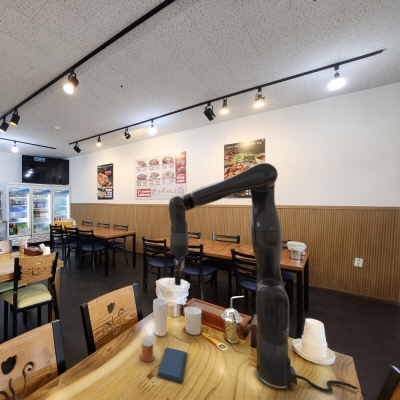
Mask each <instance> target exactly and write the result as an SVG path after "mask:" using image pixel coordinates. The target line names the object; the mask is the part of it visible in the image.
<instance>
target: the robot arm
mask: <svg viewBox="0 0 400 400" xmlns="http://www.w3.org/2000/svg"><path fill="white" fill-rule="evenodd" d="M278 176H279V174H278V170H277V168H276V167H275V165H272V164H271V163H268V162H259V163H256V164H254V165H252V166H251V167H249V168H247V169H245V170H243V171H241V172H239V173H237V174H234V175H233V176H230V177H227V178H225V179H222V180H220V181H217V182H214V183H213V182H212V183H210V184H207V185H203V186H201V187H199V188H195V189H194V190H192V191H191V192H188V193H186V194H183V195H174V196H172V197H171V198H170V199H169V201H168V214H169V219H170V234H169V235H170V236H169V253H170V255H171V256H174V257H175V258H174V259H173V272H172V274H173V276H174V285H175V286H178V287H179V286H181V285H182V280H184V270H185V262H186V261H185V259H186V258H185V257H186V256H188V255H189V225H188V224H189V222H188V219H187V218H186V212H187V211H190V210H193V209H195V208H197V207H202V206H206V205H209V204H211V203H214V202H217V201H220V200H222V199H225V198H228V197H231V196H232V195H234V194H235V195H236V194H237V193H241V192H245V191H249V193H250V199H251V213H250V234H251V236H250V237H251V244H252V251H253V255H254V259H255V263H256V264H255V265H256V283H255V296H256V297H255V298H256V299H255V300H256V302H255V304H256V309H255V311H256V318H255V323H256V324H255V325H256V328H255V331H256V332H255V333H256V376H257V378H258V380H260V381H261V383H263V384H264V385H266V386H268V387H269V388H270V387H271V388H272V389H276V390H287V389H288V390H292V384H293V385H298V379H299V380H302V381H304V382H306V383H307V384H309V386H312V387H313V388H315V389H317V390H319V391H320V392H324V393H331V392H332V391H333V388H332V385H341V386H344V387H345V386H346V387H348V388H351V389H353V390H355V389H359V388H358V387H356V386H355V385H354V384H351V383H348V382H344V381H341V380H333V379H331V380H327V381H326V386H327V388H325V387H323V386H320V385H318V384H315V383H314V382H312V381H311V380H310V379H308V378H306V377H304V376H302V375H300V374H297V372H296V370H295V368H294V366H292V363H291V362H292V360H291V357H290V356H289V355H290V353H289V327H290V300H289V295H288V294H287V291H286V289H285V287H284V283H283V278H282V273H281V261H282V253H283V234H282V225H281V221H280V215H279V213H278V209H277V206H276V198H275V192H276V191H275V188H276V181H277V179H278ZM355 391H357V390H355ZM357 392H358V393H359V391H357ZM361 393H362V394H361ZM361 393H360V394H361V396H363V397H367V394H366V393H365V392H364V391H363V390H361Z"/></svg>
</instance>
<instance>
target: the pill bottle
mask: <svg viewBox="0 0 400 400" xmlns="http://www.w3.org/2000/svg"><path fill="white" fill-rule="evenodd" d="M140 347H141V351H140V352H141V353H140V354H141V355H140V357H141V360H142V361H143V362H146V363H149V362H152V361H153V360H154V343H153V341H152V340H151V339H146V338H145V339H142V341H141V345H140Z"/></svg>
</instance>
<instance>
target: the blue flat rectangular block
mask: <svg viewBox="0 0 400 400" xmlns="http://www.w3.org/2000/svg"><path fill="white" fill-rule="evenodd" d="M186 360H187V352H186V351H183V350H180V349H175V348H171V347H166V348H165V350H164V354H163V358H162V360H161V363H160V366H159V369H158V371H157V377H159V378H162V379H166V380H170V381H173V382H177V383H180V384H182V380H183V376H184V375H183V374H184V370H185V365H186Z"/></svg>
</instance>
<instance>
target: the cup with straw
mask: <svg viewBox="0 0 400 400" xmlns="http://www.w3.org/2000/svg"><path fill="white" fill-rule="evenodd" d="M235 299H245V295H241V296H240V295H239V296H232V297H231V298H230V307H228V308H226V309H225V310H224V311H223V312H222V313H221V318H222V320H223V324H224V329H225V331H224V332H225V337H226V341H227V342H228V343H231V344H237V343H238V342H239V341H238V340H239V337H240V336H239V335H240V327H241V323H242V322H243V317H242V316H241V314H240V312H239V311H238V310H237V309H235V308H233V300H235Z"/></svg>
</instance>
